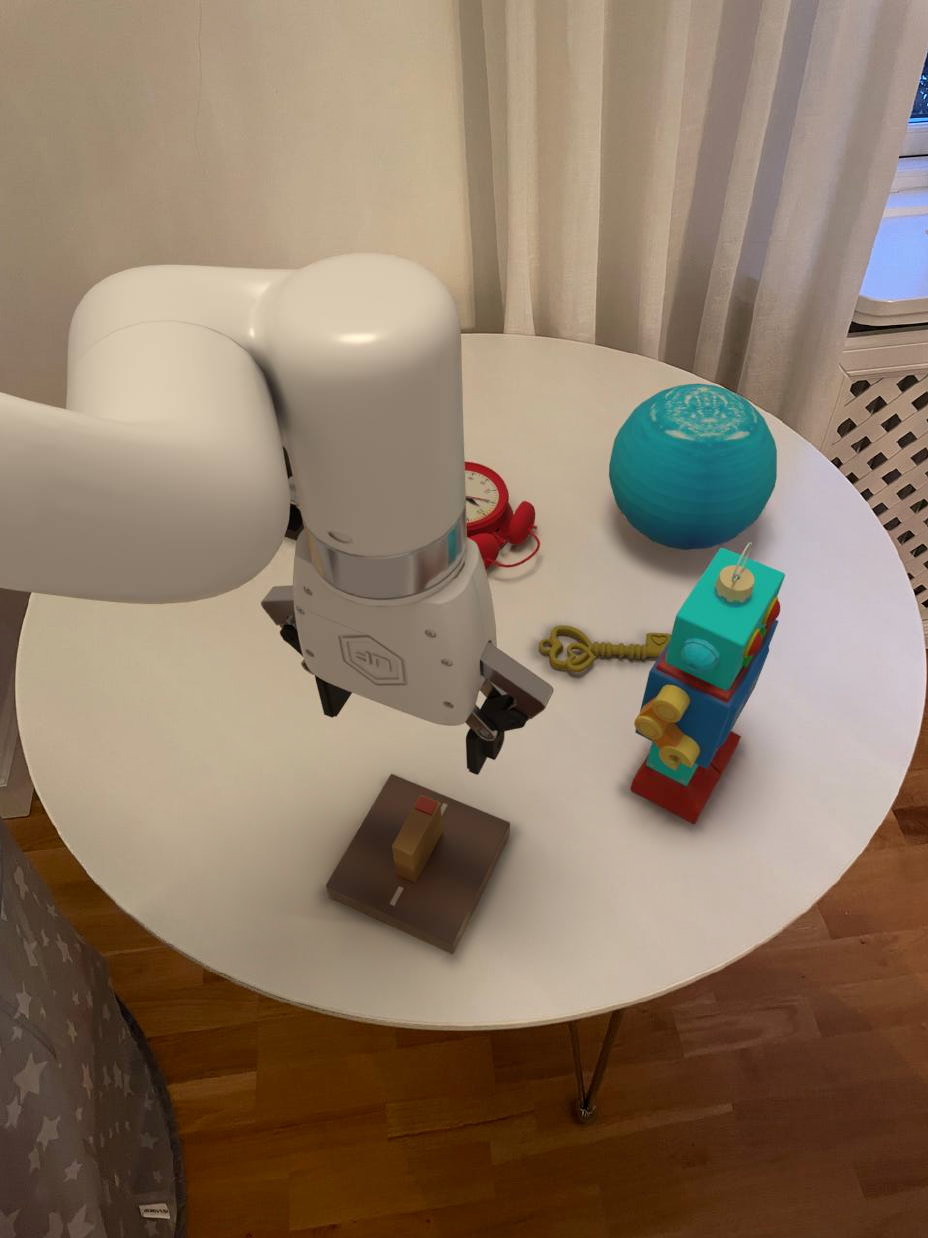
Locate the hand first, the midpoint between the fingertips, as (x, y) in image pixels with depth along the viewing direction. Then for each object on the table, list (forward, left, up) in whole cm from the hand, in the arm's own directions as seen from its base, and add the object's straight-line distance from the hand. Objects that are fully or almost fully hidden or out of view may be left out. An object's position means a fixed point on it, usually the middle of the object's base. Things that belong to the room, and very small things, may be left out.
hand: (411, 726), depth 57 cm
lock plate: (-1, 0, -17) cm, 17 cm away
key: (+23, -6, -17) cm, 29 cm away
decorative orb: (+41, -7, -17) cm, 45 cm away
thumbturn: (-1, 0, -15) cm, 15 cm away
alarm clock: (+32, +11, -17) cm, 38 cm away
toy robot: (+15, -15, -17) cm, 27 cm away
